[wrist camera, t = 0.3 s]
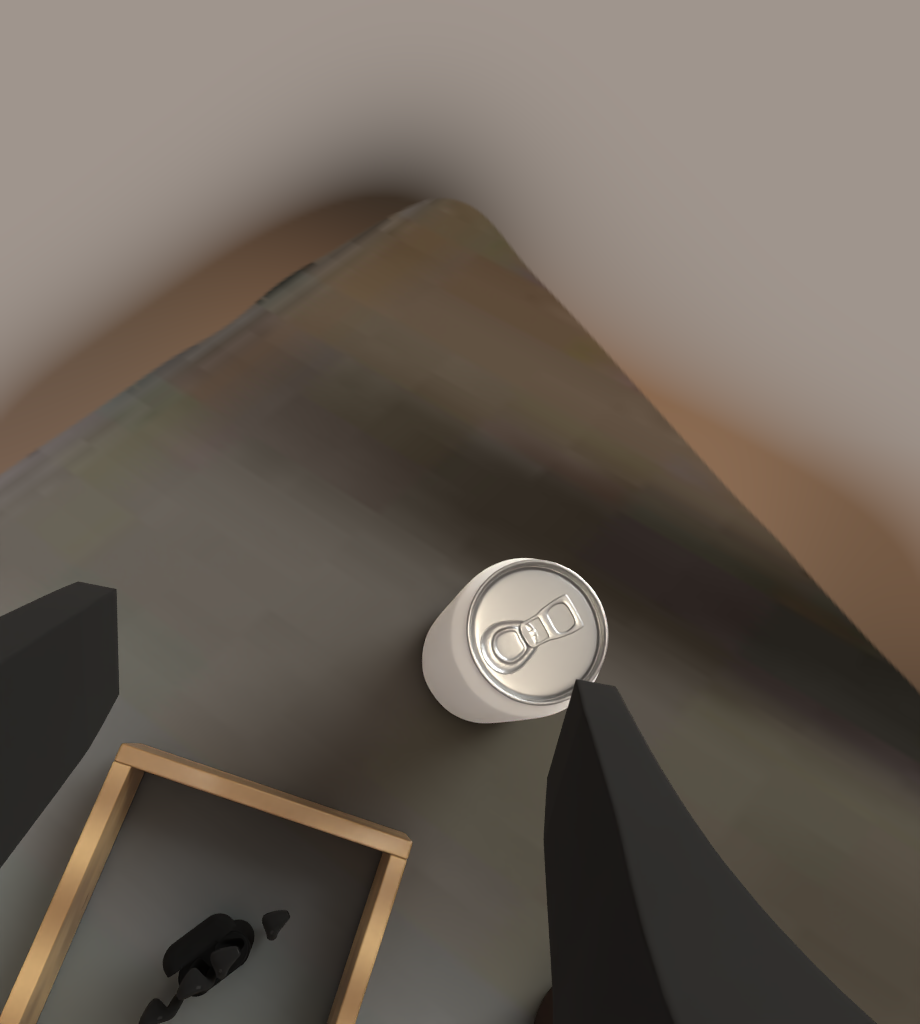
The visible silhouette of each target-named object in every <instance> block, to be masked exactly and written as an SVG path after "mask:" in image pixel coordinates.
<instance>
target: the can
mask: <svg viewBox="0 0 920 1024" xmlns="http://www.w3.org/2000/svg"><path fill="white" fill-rule="evenodd" d="M607 648H608V624H607V619H606V615H605V612H604V609H603V606H602V604H601V602H600V600H599V598H598V596H597V595H596V593H595V592H594V590H593V589H592V588H591V586H590V585H589V584H588V583H587V582H586V581H585V580H584V579H583V578H582V577H581V576H579V575H578V574H577V573H575V572H574V571H572V570H571V569H569V568H567V567H565V566H563V565H560V564H558V563H555V562H551V561H546V560H539V559H532V558H518V559H511V560H506V561H503V562H500V563H497V564H495V565H493V566H491V567H489V568H487V569H485V570H484V571H482V572H481V573H479V574H478V575H477V576H476V577H474V578H473V579H472V580H471V581H470V582H469V583H468V584H467V585H466V586H465V587H464V588H463V589H462V590H461V591H460V593H459V594H458V595H457V596H456V597H455V598H454V599H453V600H452V601H451V603H450V604H449V605H448V606H447V607H446V608H445V609H444V611H443V612H442V613H441V614H440V615H439V616H438V618H437V619H436V620H435V622H434V623H433V625H432V626H431V628H430V630H429V632H428V634H427V636H426V639H425V642H424V647H423V653H422V668H423V674H424V678H425V681H426V683H427V685H428V687H429V689H430V691H431V692H432V694H433V695H434V697H435V698H436V699H437V700H438V702H439V703H440V704H441V705H442V706H443V707H444V708H445V709H446V710H448V711H449V712H450V713H452V714H453V715H455V716H457V717H459V718H461V719H464V720H467V721H471V722H476V723H498V722H509V721H518V720H526V719H534V718H540V717H545V716H549V715H552V714H555V713H558V712H560V711H562V710H564V709H566V708H568V705H569V701H570V698H571V694H572V691H573V687H574V684H575V680H576V679H579V680H584V681H589V682H594V681H595V679H596V677H597V675H598V673H599V671H600V669H601V667H602V665H603V662H604V660H605V657H606V653H607Z"/></svg>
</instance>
